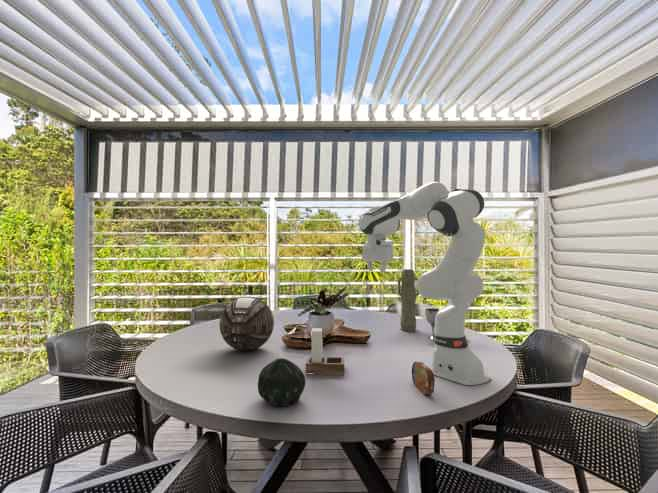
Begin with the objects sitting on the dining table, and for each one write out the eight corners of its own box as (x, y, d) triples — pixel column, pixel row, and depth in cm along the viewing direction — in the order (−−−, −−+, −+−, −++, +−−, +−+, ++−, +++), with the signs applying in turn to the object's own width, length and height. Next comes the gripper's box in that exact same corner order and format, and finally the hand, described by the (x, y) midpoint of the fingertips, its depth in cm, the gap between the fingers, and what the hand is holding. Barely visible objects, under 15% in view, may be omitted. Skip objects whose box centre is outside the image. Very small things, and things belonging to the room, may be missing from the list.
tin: (410, 381, 131) (410, 358, 131) (419, 381, 131) (419, 357, 131) (427, 399, 116) (427, 372, 116) (436, 398, 116) (436, 372, 116)
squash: (287, 370, 127) (266, 344, 118) (320, 382, 117) (299, 355, 109) (263, 407, 119) (239, 382, 111) (296, 423, 109) (272, 397, 101)
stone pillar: (396, 328, 212) (396, 269, 212) (415, 328, 214) (415, 269, 213) (400, 332, 204) (400, 270, 203) (420, 331, 205) (420, 270, 205)
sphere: (279, 343, 181) (279, 293, 181) (265, 359, 156) (265, 301, 156) (231, 341, 183) (231, 292, 183) (210, 357, 158) (210, 300, 158)
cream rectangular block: (312, 365, 144) (312, 328, 144) (322, 365, 144) (322, 328, 144) (311, 369, 140) (311, 331, 139) (321, 370, 139) (321, 331, 139)
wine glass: (442, 339, 187) (442, 311, 187) (427, 339, 187) (427, 311, 187) (438, 336, 195) (438, 308, 195) (423, 335, 195) (423, 308, 195)
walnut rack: (307, 366, 147) (307, 356, 147) (344, 366, 146) (344, 356, 146) (305, 374, 138) (305, 363, 138) (344, 374, 137) (344, 364, 137)
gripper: (358, 241, 175) (358, 270, 175) (384, 241, 157) (384, 273, 157) (369, 241, 178) (369, 269, 178) (395, 241, 160) (395, 272, 160)
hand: (376, 271), depth 168 cm, fingers open, 8 cm apart
